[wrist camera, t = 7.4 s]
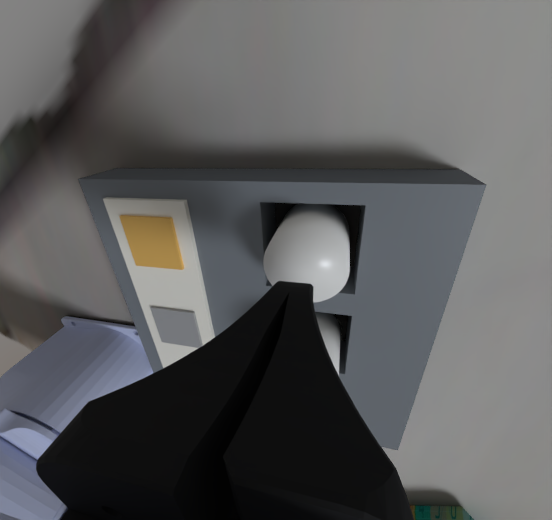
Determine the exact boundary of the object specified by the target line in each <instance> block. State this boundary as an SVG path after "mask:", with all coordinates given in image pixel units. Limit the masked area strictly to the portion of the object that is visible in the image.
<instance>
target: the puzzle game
mask: <svg viewBox="0 0 552 520" xmlns="http://www.w3.org/2000/svg"><path fill="white" fill-rule="evenodd" d="M410 508H411V511H412V514H413V518H414V520H474V519H473V518H472V517H471V516H470V515H469V514H468V513H467V512H466V511H465V510H464V509H463V508H462V507H461V506H416V505H410Z"/></svg>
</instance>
